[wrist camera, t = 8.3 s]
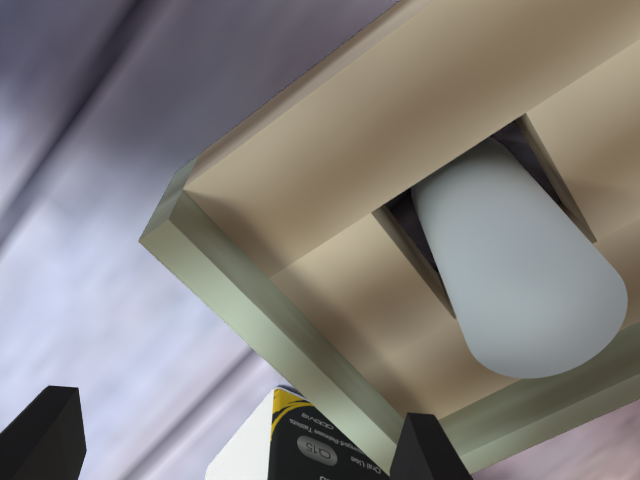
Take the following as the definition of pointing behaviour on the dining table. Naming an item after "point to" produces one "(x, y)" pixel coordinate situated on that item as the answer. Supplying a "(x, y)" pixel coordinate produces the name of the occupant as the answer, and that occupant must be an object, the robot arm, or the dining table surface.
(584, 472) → the dining table surface
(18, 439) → the robot arm
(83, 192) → the dining table surface
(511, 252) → the peg
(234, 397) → the dining table surface
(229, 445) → the medicine box
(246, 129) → the socket block
